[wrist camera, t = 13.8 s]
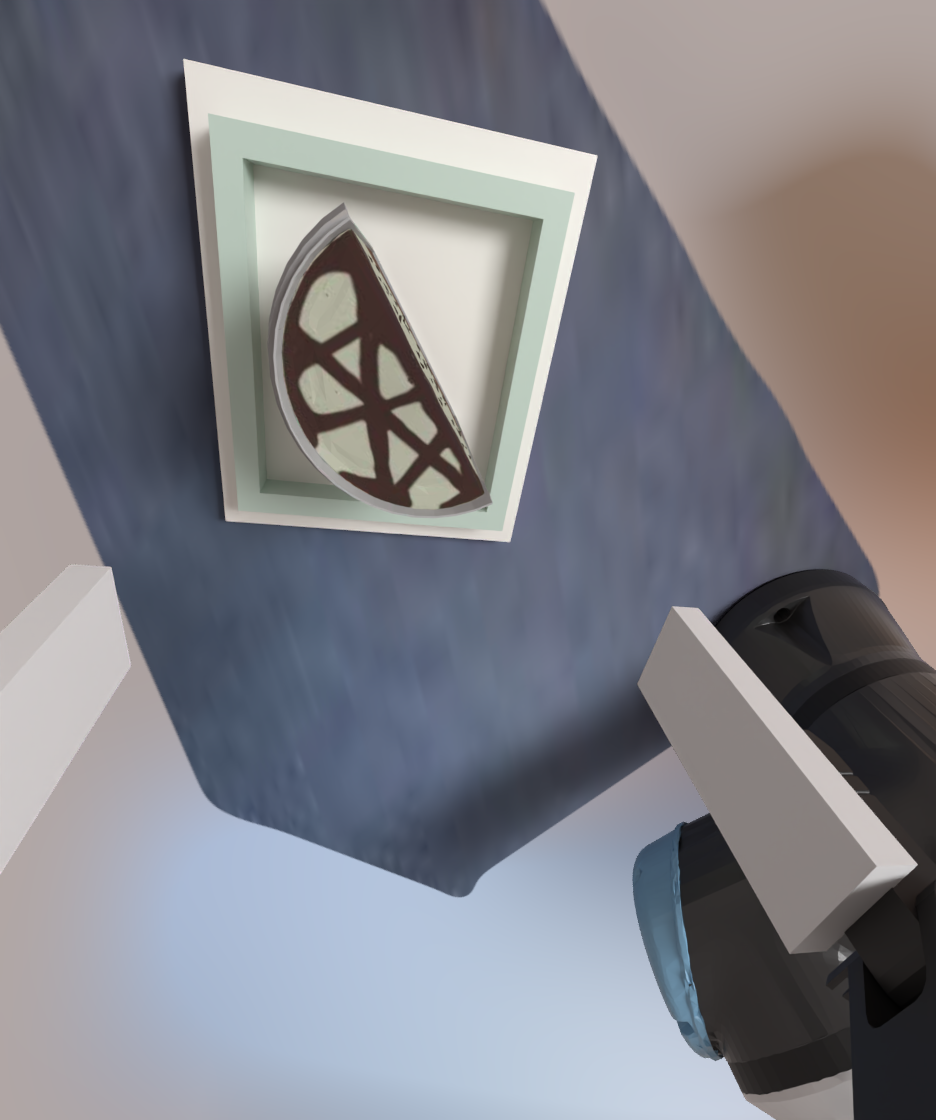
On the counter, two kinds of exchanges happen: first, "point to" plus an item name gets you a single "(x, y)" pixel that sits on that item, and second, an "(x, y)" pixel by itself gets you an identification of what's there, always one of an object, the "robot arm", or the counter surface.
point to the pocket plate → (408, 261)
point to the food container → (364, 382)
